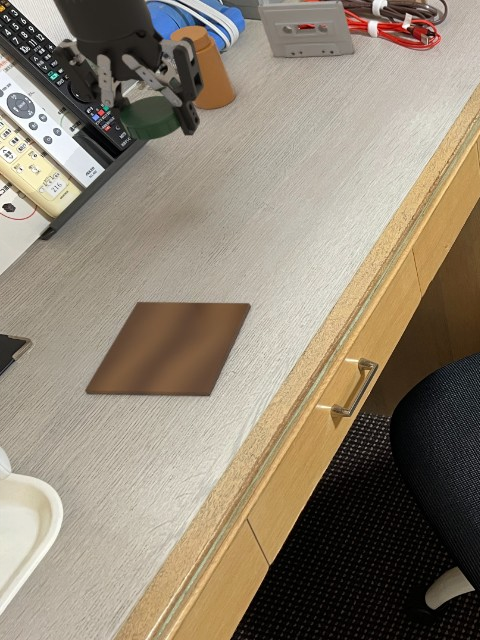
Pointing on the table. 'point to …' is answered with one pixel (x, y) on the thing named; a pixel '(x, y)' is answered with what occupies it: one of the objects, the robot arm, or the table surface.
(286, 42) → the cassette
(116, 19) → the robot arm
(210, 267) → the table surface
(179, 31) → the jar
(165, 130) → the lid
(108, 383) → the coaster
